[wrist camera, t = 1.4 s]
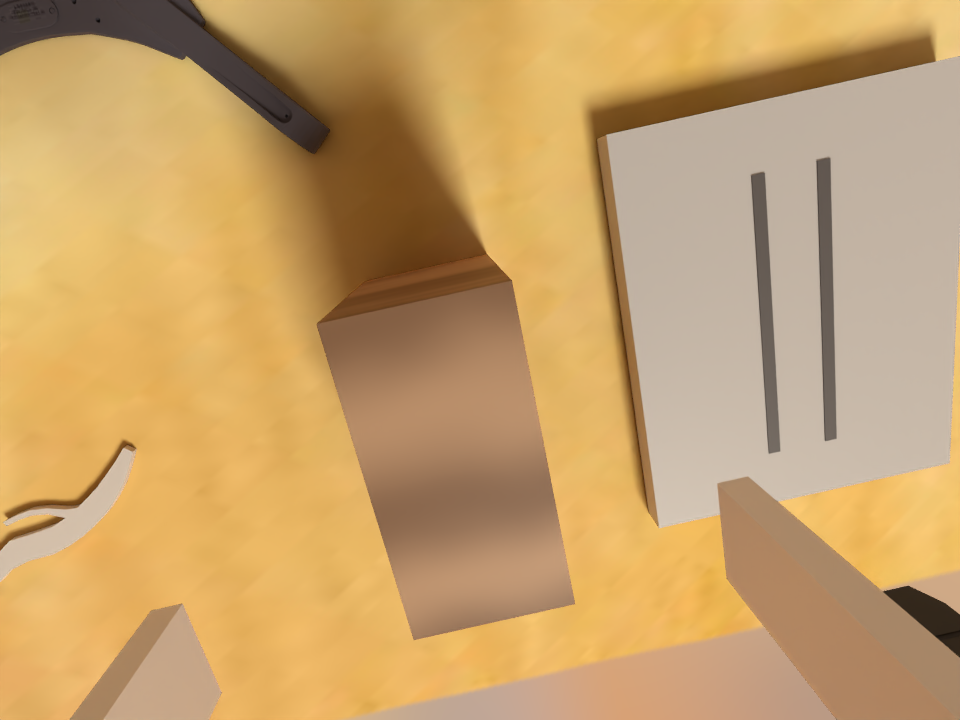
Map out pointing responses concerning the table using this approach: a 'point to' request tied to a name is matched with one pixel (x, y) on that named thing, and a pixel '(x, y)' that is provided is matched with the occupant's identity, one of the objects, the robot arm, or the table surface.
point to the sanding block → (450, 443)
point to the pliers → (66, 519)
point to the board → (790, 287)
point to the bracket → (160, 48)
